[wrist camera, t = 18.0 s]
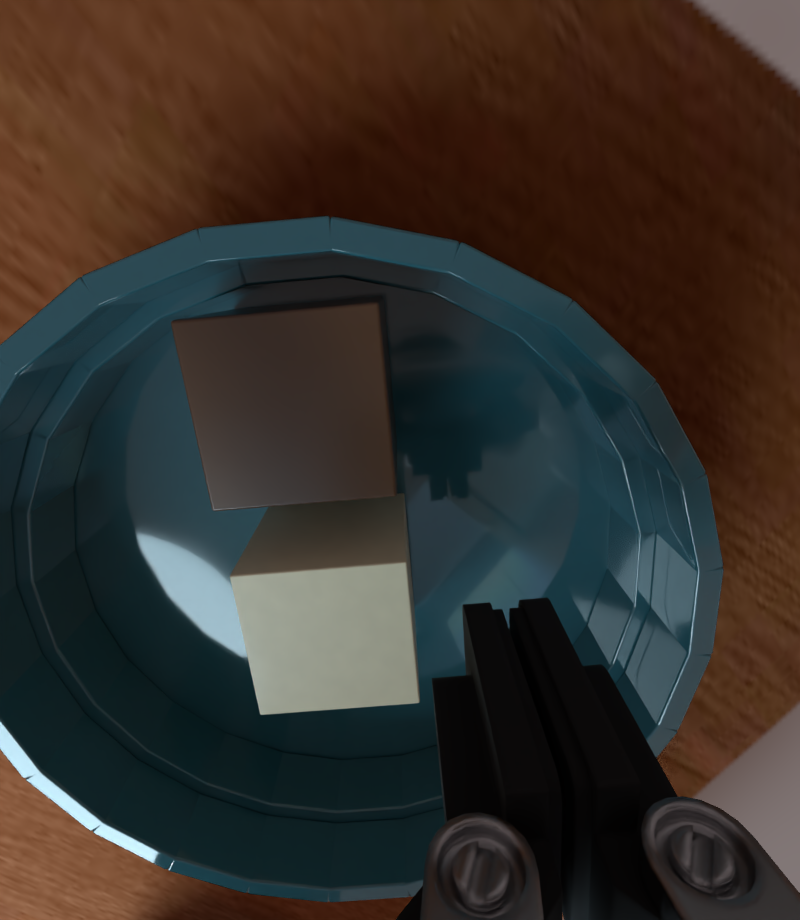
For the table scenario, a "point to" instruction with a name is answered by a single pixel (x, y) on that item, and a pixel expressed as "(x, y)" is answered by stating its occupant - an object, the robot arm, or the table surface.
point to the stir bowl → (228, 532)
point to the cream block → (329, 606)
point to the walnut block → (291, 402)
